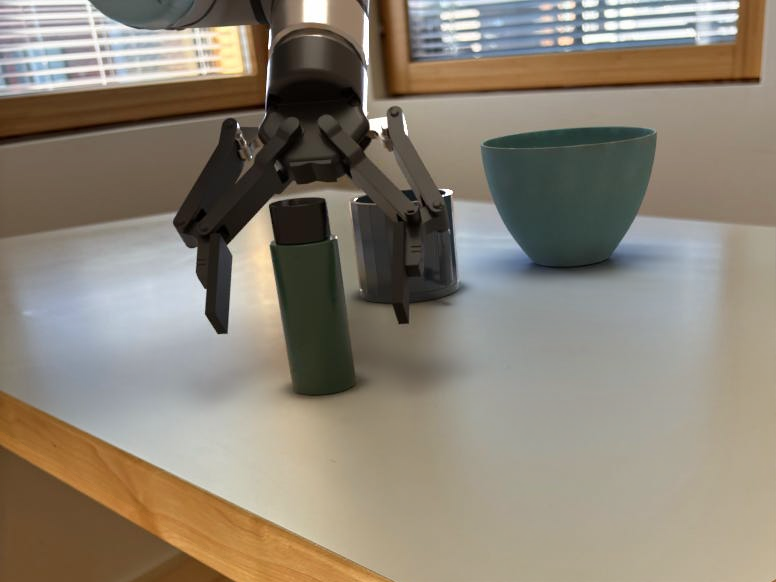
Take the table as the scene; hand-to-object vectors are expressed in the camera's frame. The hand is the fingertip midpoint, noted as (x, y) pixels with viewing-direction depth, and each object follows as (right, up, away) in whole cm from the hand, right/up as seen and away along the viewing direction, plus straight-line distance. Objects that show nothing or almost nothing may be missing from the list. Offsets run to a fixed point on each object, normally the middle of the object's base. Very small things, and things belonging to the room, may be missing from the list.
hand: (307, 319), depth 73 cm
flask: (0, -4, +5) cm, 6 cm away
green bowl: (+22, +19, +40) cm, 49 cm away
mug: (+6, +12, +30) cm, 33 cm away
